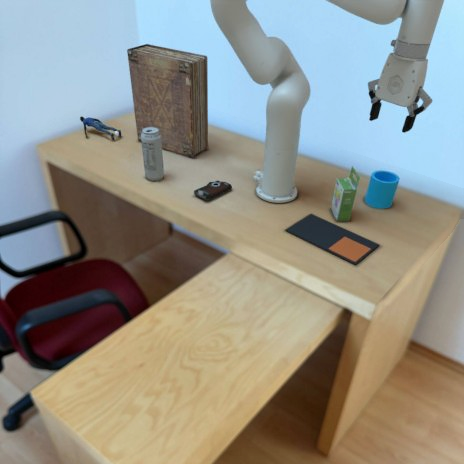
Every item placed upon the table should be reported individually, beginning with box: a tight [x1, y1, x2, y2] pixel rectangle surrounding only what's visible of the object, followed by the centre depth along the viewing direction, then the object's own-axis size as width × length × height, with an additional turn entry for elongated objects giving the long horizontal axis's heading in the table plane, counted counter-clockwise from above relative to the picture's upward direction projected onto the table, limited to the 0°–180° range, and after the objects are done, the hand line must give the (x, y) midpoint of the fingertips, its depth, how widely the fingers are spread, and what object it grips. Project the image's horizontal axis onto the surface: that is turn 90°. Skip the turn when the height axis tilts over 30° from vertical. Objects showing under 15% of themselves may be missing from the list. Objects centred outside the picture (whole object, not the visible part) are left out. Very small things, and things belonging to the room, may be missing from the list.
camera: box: [193, 180, 233, 201], centre depth 133 cm, size 6×3×11 cm
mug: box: [364, 169, 401, 210], centre depth 132 cm, size 12×8×8 cm
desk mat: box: [285, 213, 380, 266], centre depth 118 cm, size 22×12×1 cm, turn 47°
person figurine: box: [79, 116, 122, 142], centre depth 163 cm, size 11×4×18 cm
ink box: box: [330, 165, 361, 222], centre depth 122 cm, size 7×4×13 cm, turn 5°
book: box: [126, 43, 209, 159], centre depth 149 cm, size 25×9×30 cm, turn 58°
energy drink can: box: [140, 127, 165, 182], centre depth 135 cm, size 6×6×15 cm
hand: (389, 125), depth 113 cm, fingers open, 9 cm apart
